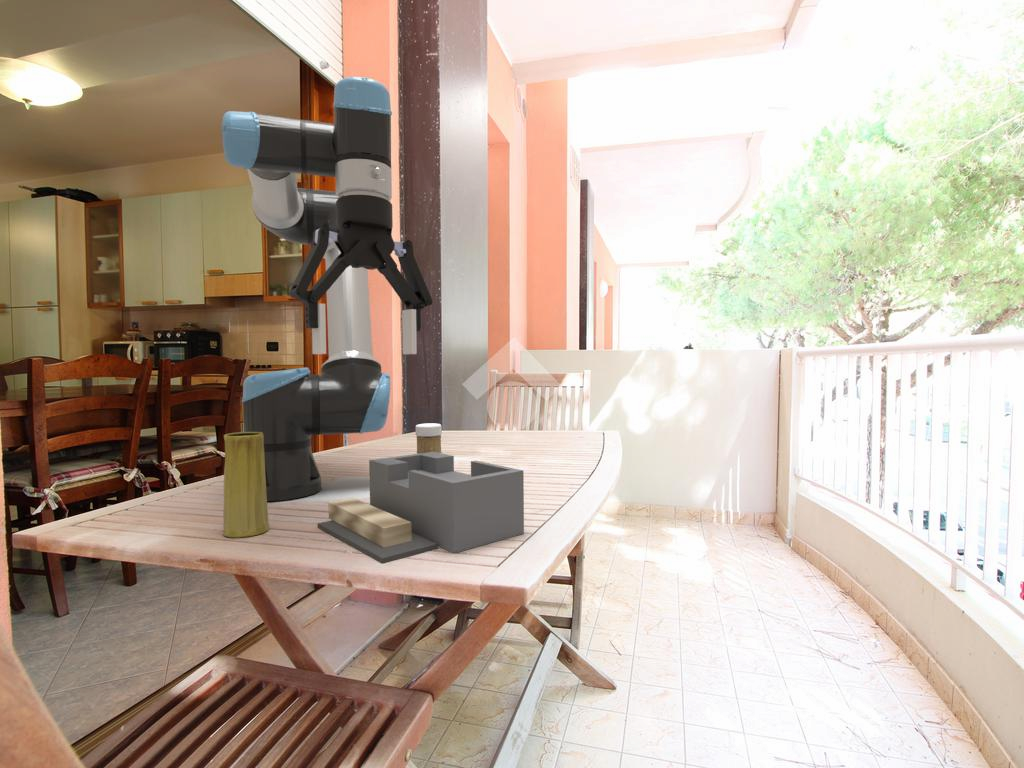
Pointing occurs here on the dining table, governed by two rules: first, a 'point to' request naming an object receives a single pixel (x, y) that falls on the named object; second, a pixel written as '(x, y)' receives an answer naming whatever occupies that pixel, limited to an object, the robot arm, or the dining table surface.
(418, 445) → the sprinkles bottle
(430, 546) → the rubber mat
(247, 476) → the vase
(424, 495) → the pocket block
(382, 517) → the birch bar
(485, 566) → the dining table surface
